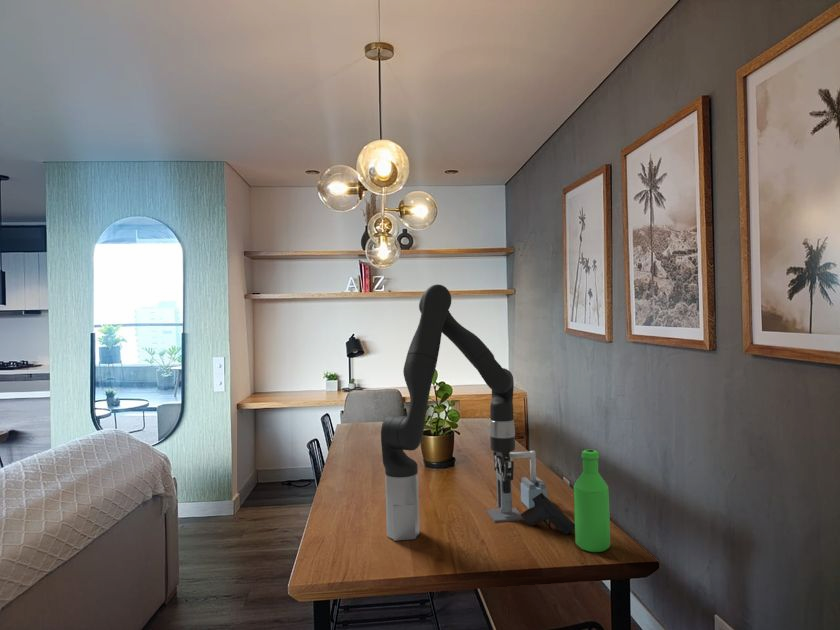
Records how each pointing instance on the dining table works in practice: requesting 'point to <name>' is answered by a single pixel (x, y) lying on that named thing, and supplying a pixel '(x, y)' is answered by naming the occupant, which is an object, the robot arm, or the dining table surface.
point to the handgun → (548, 515)
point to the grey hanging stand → (534, 484)
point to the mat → (504, 515)
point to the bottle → (591, 506)
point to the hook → (503, 495)
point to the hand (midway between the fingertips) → (503, 489)
